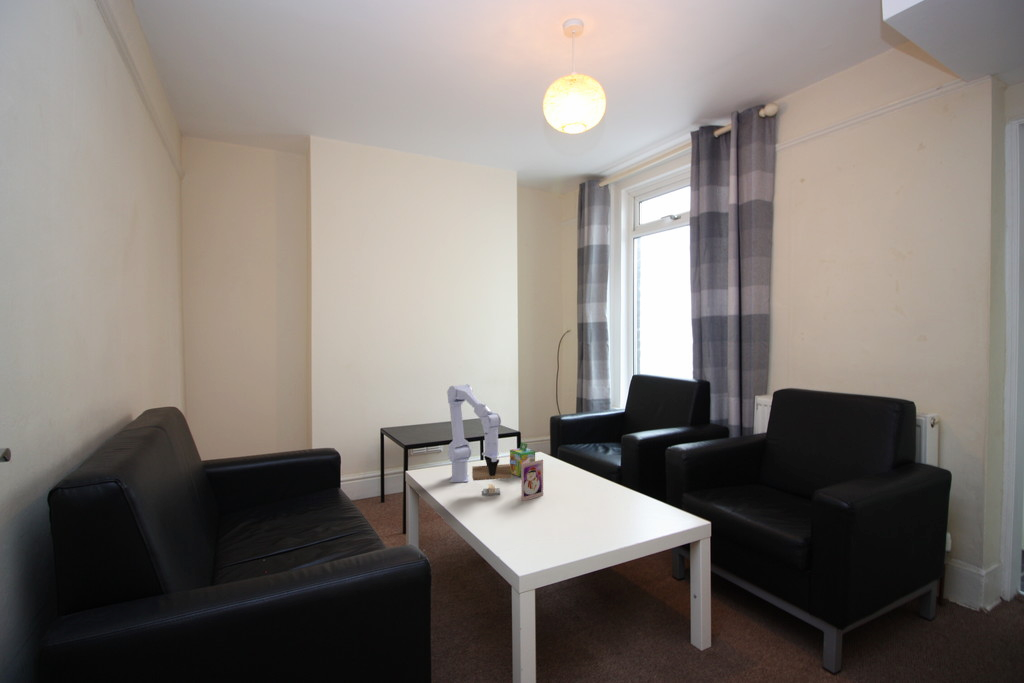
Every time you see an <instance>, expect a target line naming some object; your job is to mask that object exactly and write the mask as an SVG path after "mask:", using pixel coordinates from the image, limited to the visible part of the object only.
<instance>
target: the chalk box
mask: <svg viewBox="0 0 1024 683" xmlns="http://www.w3.org/2000/svg"><path fill="white" fill-rule="evenodd" d="M523 446H524V447H523ZM529 457H530V462H534V461H536V450H535V449H534V450H533V449H532V448H531V449H530V448H528V444H527V443H525V442H520V446H519V448H514V449H513V448H512V449H509V465H510V466H511V475H514V476H516V477H518V478H521V464H522V463H523V462H524V461H525V460H527V459H528V458H529Z"/></svg>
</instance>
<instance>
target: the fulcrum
mask: <svg viewBox="0 0 1024 683" xmlns="http://www.w3.org/2000/svg"><path fill="white" fill-rule="evenodd" d="M482 490H483V496H497V495H498V496H500V495H501V490H500V487H495V484H494V483H493V484H488V488H483V489H482Z"/></svg>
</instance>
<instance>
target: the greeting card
mask: <svg viewBox="0 0 1024 683" xmlns="http://www.w3.org/2000/svg"><path fill="white" fill-rule="evenodd" d="M520 480H521V482H520V483H521V486H520V487H521V502H524V501H527V500H531V499H534V498H538V497H541V496H544V459H540V460H539V459H538V460H535V461H534V462H530V457H529V458H528V459H527V460H525V461H524V462H523V463H522V464H521V479H520Z"/></svg>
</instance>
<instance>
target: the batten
mask: <svg viewBox="0 0 1024 683" xmlns="http://www.w3.org/2000/svg"><path fill="white" fill-rule="evenodd" d="M471 469H472V472H471V475H472V481H473V482H475V481H486V480H500V479H511V478H512V474H511V466H510V463H505V464H498V465H497V468H496V473H495V476H490V474H489V468H488V465H487V464H486V465H477V466H475V465H474V466H472V468H471Z"/></svg>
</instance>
